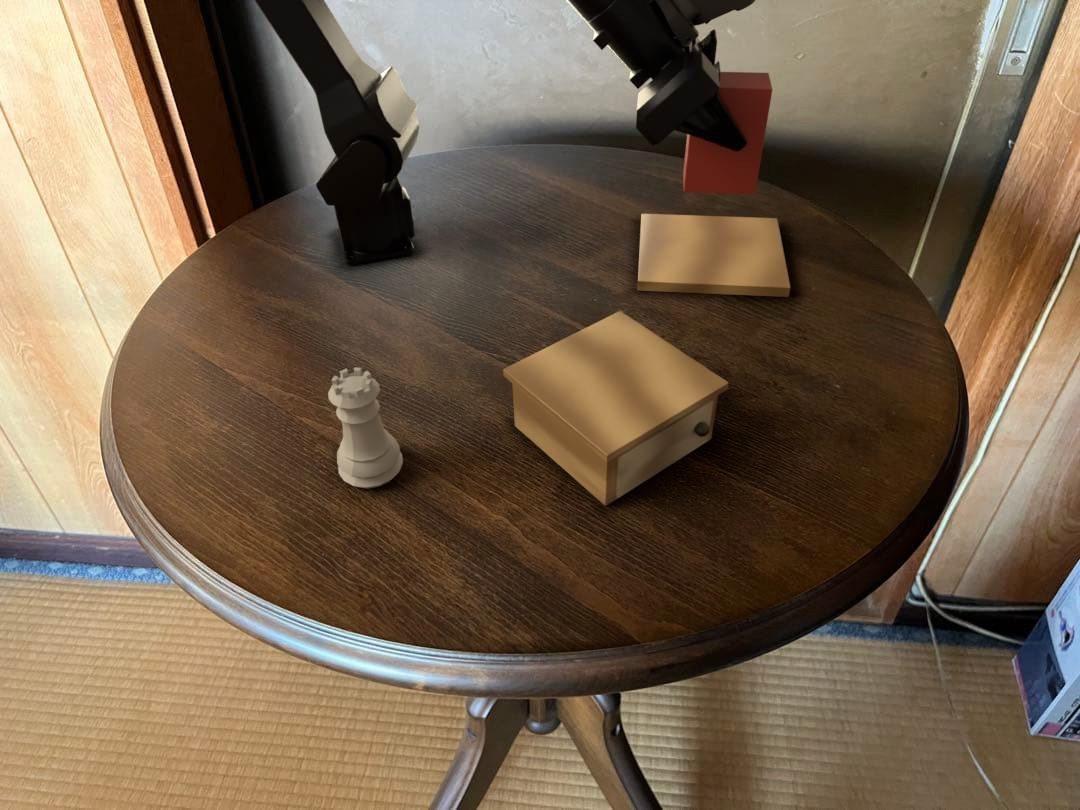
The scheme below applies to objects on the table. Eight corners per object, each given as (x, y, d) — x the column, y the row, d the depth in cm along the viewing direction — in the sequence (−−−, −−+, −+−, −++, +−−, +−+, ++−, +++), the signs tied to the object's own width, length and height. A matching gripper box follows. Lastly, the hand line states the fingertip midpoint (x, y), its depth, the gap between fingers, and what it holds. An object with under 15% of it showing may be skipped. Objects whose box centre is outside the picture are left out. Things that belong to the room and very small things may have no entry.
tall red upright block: (755, 195, 70) (772, 88, 64) (683, 192, 71) (694, 86, 65) (752, 176, 73) (768, 72, 67) (683, 173, 74) (693, 70, 68)
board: (637, 290, 73) (638, 281, 72) (640, 222, 82) (641, 213, 81) (788, 297, 72) (790, 287, 71) (775, 227, 81) (777, 218, 80)
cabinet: (612, 519, 54) (614, 462, 50) (506, 425, 61) (502, 369, 57) (727, 445, 59) (737, 387, 55) (617, 365, 65) (620, 310, 62)
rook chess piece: (384, 499, 55) (364, 410, 50) (326, 482, 57) (301, 393, 51) (415, 454, 59) (399, 366, 53) (360, 439, 60) (339, 351, 55)
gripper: (701, -61, 52) (844, 118, 58) (695, -120, 65) (811, 30, 72) (573, 65, 58) (715, 215, 64) (592, -13, 71) (708, 116, 78)
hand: (741, 137), depth 69 cm, fingers closed on tall red upright block, 3 cm apart
